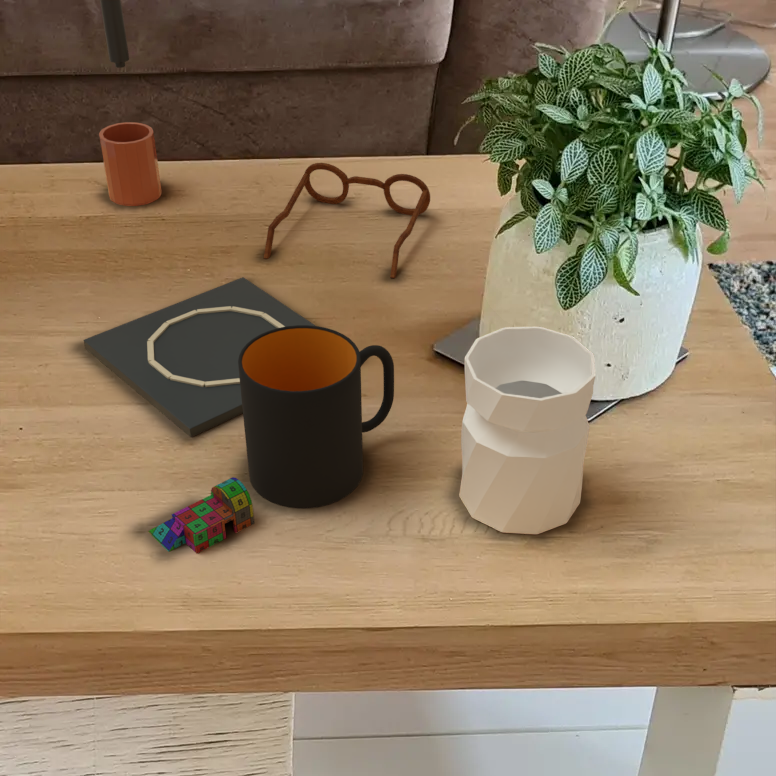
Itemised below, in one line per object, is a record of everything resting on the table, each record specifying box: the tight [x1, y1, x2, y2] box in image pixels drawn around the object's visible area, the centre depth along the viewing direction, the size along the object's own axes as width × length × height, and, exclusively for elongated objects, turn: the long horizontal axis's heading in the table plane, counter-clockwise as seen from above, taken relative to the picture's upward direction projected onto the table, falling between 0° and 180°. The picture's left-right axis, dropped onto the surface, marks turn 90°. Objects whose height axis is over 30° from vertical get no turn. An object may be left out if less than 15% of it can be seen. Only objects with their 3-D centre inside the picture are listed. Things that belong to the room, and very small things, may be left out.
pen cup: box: [98, 121, 163, 207], centre depth 117 cm, size 5×5×7 cm
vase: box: [458, 326, 596, 535], centre depth 80 cm, size 9×9×12 cm
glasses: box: [263, 162, 431, 279], centre depth 112 cm, size 13×13×5 cm
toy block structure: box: [147, 476, 255, 554], centre depth 79 cm, size 6×4×3 cm
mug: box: [238, 325, 395, 509], centre depth 83 cm, size 8×12×10 cm
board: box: [82, 276, 316, 438], centre depth 97 cm, size 16×16×1 cm
